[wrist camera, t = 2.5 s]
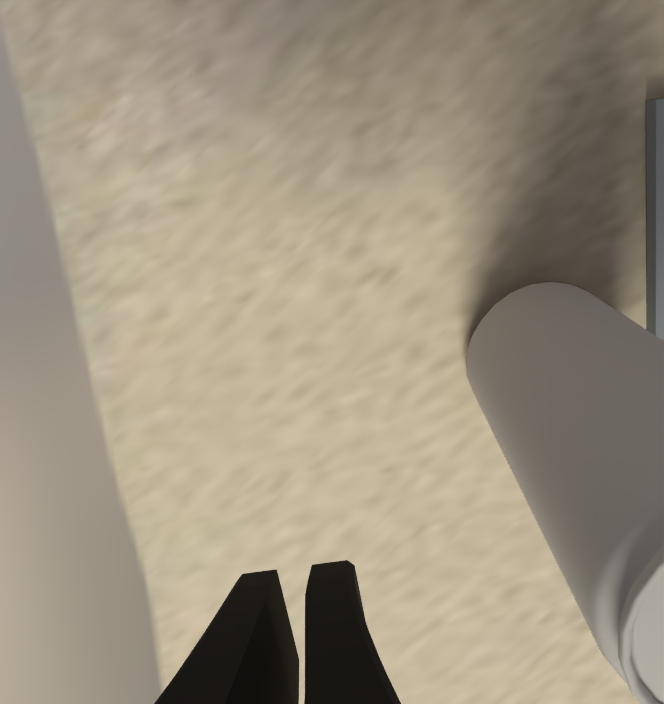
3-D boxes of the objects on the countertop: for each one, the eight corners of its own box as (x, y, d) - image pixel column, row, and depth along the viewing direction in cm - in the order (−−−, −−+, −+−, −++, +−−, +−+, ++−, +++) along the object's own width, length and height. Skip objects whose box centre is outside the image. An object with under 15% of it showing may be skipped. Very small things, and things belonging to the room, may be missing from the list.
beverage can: (457, 417, 21) (590, 755, 10) (466, 277, 19) (640, 486, 8) (600, 417, 21) (907, 759, 9) (622, 277, 19) (1024, 487, 8)
